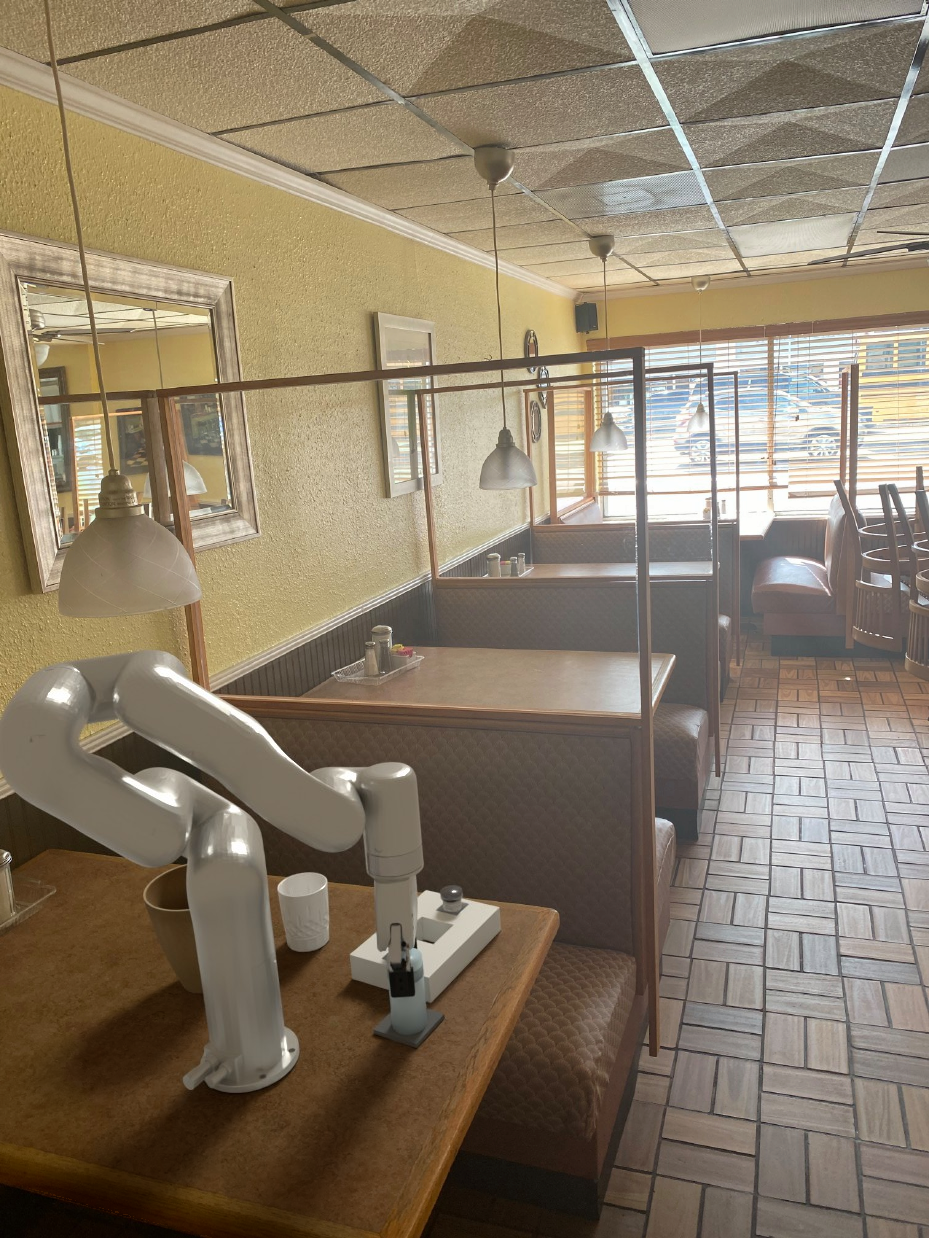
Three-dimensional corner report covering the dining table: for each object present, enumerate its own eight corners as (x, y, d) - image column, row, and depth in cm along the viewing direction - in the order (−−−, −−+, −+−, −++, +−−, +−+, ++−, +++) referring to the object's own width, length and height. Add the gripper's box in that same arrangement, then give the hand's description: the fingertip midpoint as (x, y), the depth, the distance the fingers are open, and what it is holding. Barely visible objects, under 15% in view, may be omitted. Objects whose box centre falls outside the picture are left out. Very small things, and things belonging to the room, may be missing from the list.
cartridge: (390, 1035, 123) (384, 968, 121) (393, 1013, 127) (387, 948, 125) (427, 1033, 123) (421, 966, 120) (428, 1010, 127) (423, 945, 125)
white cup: (338, 927, 152) (332, 871, 150) (326, 954, 144) (320, 896, 142) (291, 927, 153) (285, 872, 151) (277, 954, 145) (270, 896, 143)
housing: (431, 1002, 130) (428, 977, 129) (352, 978, 137) (349, 954, 136) (500, 929, 148) (499, 907, 147) (427, 911, 155) (426, 889, 154)
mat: (416, 1047, 121) (416, 1043, 121) (373, 1033, 124) (373, 1029, 124) (444, 1017, 127) (444, 1013, 126) (402, 1004, 130) (402, 1000, 130)
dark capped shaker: (457, 932, 146) (455, 898, 145) (438, 927, 148) (435, 893, 147) (468, 921, 149) (466, 887, 148) (450, 916, 151) (447, 883, 150)
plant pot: (136, 996, 136) (120, 897, 133) (206, 944, 149) (194, 853, 146) (211, 1020, 129) (197, 917, 126) (278, 964, 142) (267, 869, 139)
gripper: (372, 830, 129) (383, 945, 133) (357, 891, 112) (370, 1021, 116) (426, 827, 129) (435, 942, 132) (419, 887, 112) (430, 1018, 115)
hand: (405, 978), depth 124 cm, fingers open, 6 cm apart
